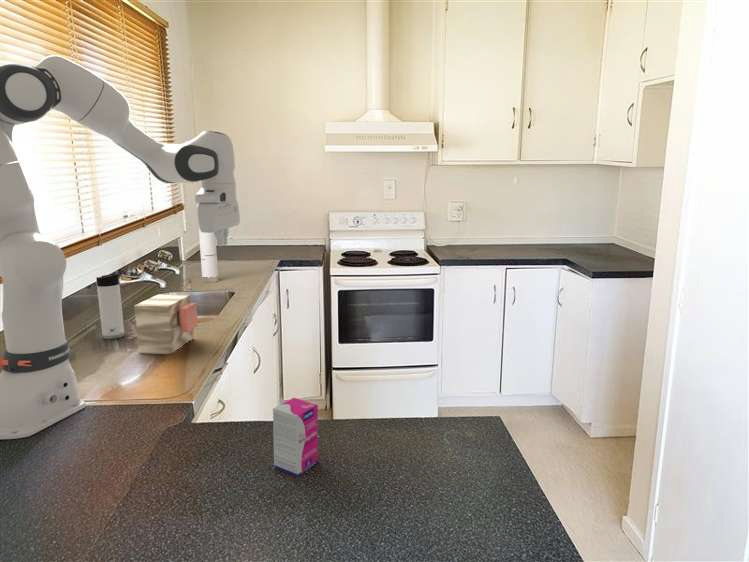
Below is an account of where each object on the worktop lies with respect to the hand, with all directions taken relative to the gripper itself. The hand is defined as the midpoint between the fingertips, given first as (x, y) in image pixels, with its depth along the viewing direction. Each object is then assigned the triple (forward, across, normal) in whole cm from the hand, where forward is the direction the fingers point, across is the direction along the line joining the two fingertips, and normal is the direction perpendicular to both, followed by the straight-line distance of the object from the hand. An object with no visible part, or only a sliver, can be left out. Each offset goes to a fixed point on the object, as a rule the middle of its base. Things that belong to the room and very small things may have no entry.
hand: (222, 245), depth 150 cm
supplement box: (+31, +56, +34) cm, 73 cm away
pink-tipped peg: (+26, -5, -20) cm, 33 cm away
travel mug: (+31, -12, -42) cm, 54 cm away
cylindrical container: (+31, -95, -45) cm, 110 cm away
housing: (+31, -5, -21) cm, 38 cm away
